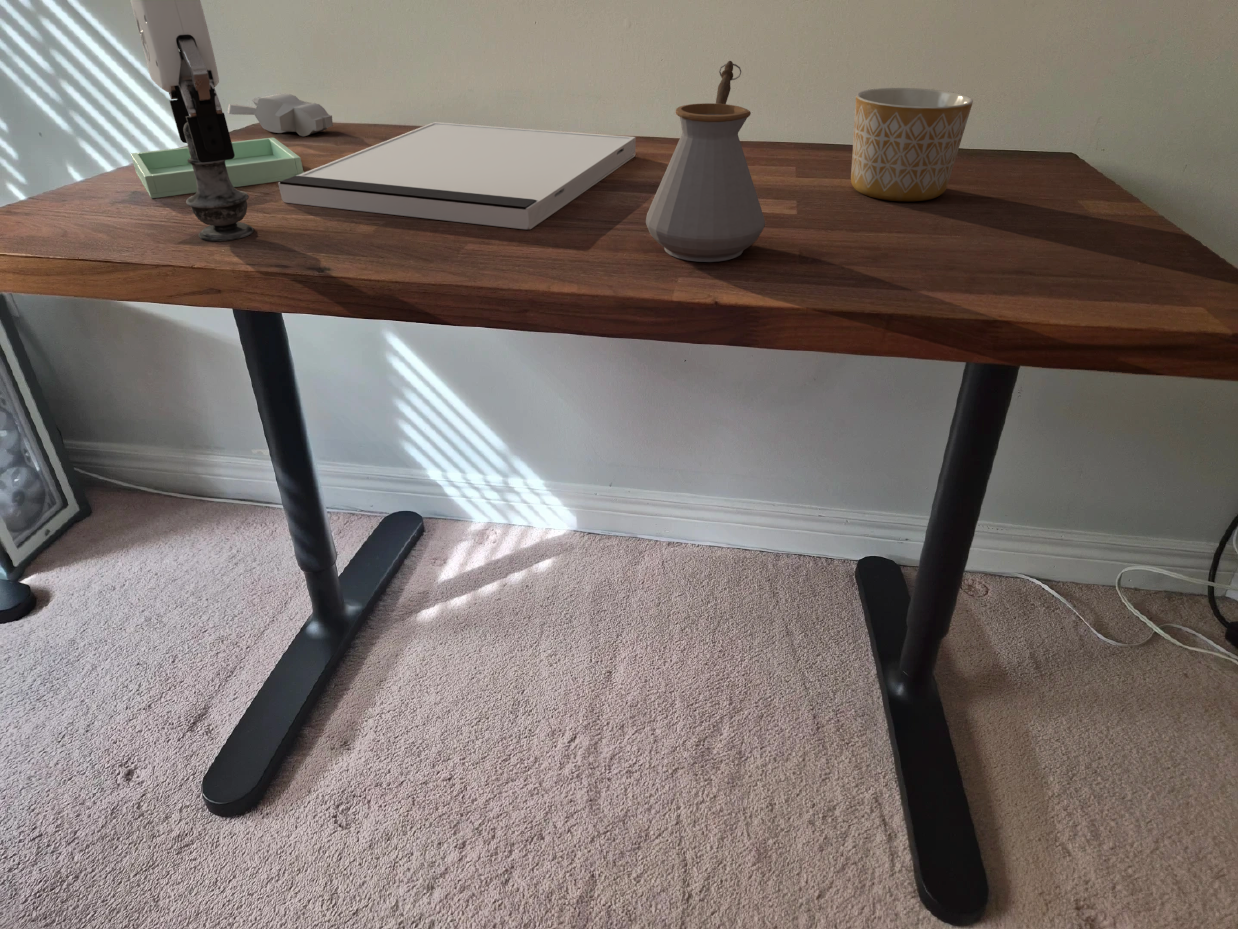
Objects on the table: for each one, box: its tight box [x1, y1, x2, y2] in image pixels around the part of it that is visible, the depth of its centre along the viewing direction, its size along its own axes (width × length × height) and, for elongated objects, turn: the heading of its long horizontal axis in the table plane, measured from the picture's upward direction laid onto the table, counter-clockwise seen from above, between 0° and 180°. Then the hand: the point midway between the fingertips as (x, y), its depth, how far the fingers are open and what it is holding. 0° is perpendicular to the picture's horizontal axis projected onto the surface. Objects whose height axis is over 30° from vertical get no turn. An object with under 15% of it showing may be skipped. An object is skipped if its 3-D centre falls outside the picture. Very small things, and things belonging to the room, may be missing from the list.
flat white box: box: [277, 121, 637, 230], centre depth 104 cm, size 35×2×31 cm
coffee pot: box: [645, 60, 766, 263], centre depth 82 cm, size 21×12×15 cm, turn 167°
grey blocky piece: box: [227, 92, 334, 137], centre depth 127 cm, size 10×5×15 cm
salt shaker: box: [184, 123, 255, 242], centre depth 83 cm, size 6×6×12 cm
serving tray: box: [130, 137, 305, 199], centre depth 105 cm, size 18×14×2 cm
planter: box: [850, 87, 974, 203], centre depth 97 cm, size 13×13×10 cm
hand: (207, 150), depth 81 cm, fingers open, 9 cm apart
